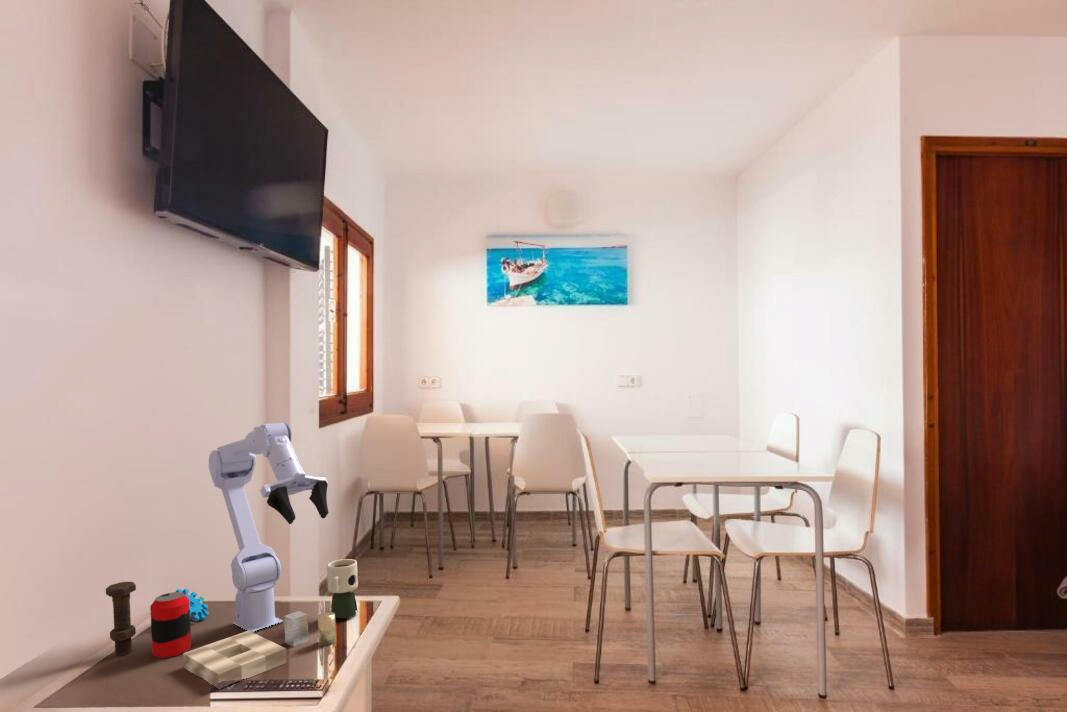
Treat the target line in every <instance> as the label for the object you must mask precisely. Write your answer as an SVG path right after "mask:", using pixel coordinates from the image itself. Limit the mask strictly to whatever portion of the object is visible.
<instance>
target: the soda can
mask: <svg viewBox="0 0 1067 712" xmlns="http://www.w3.org/2000/svg"><path fill="white" fill-rule="evenodd" d="M149 608H150V626H151V629H150V631H151V632H150V633H151V649H152V650H151V651H152V655H153V657H155V658H157V659H166V658H167V659H168V658H173V657H177V656H179V655H180V656H181V655H183V653H185V652H188V651H190V649H191V647H192V634H191V616H190V606H189V598H188V597H187V596H186V595H184V593H182V592H176V591H174V592H166V593H164V594H161V595H159V596H157V597H155V598H154V600H153V602H152V604H151V605H150V606H149Z"/></svg>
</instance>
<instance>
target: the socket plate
mask: <svg viewBox="0 0 1067 712" xmlns="http://www.w3.org/2000/svg"><path fill="white" fill-rule="evenodd" d="M182 657H183V668H184V669H186V670H187V671H189V673H192V674H193V673H194V674H193V675H195V674H196V675H197V676H196V675H195V676H196V677H198V676H199V677H201V678H203V679H204V680H206V681H208V682H209V683H210V684H209V683H208V684H209V685H211V684H212V685H215V684H217V683H220V682H222V681H230V680H239V679H245V680H247V679H250V678H252V677H256V676H257V675H259V674H262V673H264V672H267V671H269V670H272V669H275V668H277V667H279V666H283V665H284V664H287V648H286V647H283V646H281V645H279V644H278V643H275V642H273V641H271V640H269V639H267V638H265V637H262V636H261V635H259V634H257V633H256V632H251V631H246V630H245V631H243V632H241V633H238V634H235V635H232V636H229V637H225V638H224V639H220V640H217V641H214V642H212V643H209V644H206V645H203V646H201V647H197V648H194V649H192V650H188V651H186V652H185V653H183V654H182ZM199 677H198V678H199ZM201 678H200V679H201ZM246 678H247V679H246ZM203 679H202V680H203ZM204 680H203V681H204ZM206 681H205V682H206ZM212 685H211V686H212Z"/></svg>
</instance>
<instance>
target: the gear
mask: <svg viewBox="0 0 1067 712" xmlns="http://www.w3.org/2000/svg"><path fill="white" fill-rule="evenodd" d="M175 592H182V593H184V595H186V596H187V597H188V598H189V606H190V617H191V615H192V616H193V617H192V618H191V619H192V620H193V621H195V622H198V621H199V620H200V621H204V620H205V619H206V618H207V616H208V615H209V614H210V612H209V611H208V609H209V605H208V604H207V603H204V602H205V598H206V597H205V596H204V595H201V596H200V597H198V598H197V596H198V594H197V592H195V591H192V592H191V593H190V590H189V589H188V588H184V589H183V590H182V589H181V588H177V589H176V590H175ZM188 593H190V594H188Z"/></svg>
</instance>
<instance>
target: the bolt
mask: <svg viewBox="0 0 1067 712" xmlns="http://www.w3.org/2000/svg"><path fill="white" fill-rule="evenodd" d="M136 590H137V585H136V583H135V582H133V581H121V582H116V583H113V584H110V585H108V586H107V587H105V595H106V596H108V597H111V599H112V600H111V601H112V608H113V609H112V613H113V629H111V631H109V638H110V640H111V641H113V642H114V648H115V649H114V652H115V653H114V654H115V655H116V656H124V655H128V654H130V653H131V652H132V650H133V644H132V643H133V642H132V638H133V637H134V636H135V635H136V633H137V632H136V627H135V625H133V624H132V622H131V621H132V620H131V619H132V618H131V602H130V601H131V593H133V592H135V591H136Z"/></svg>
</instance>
